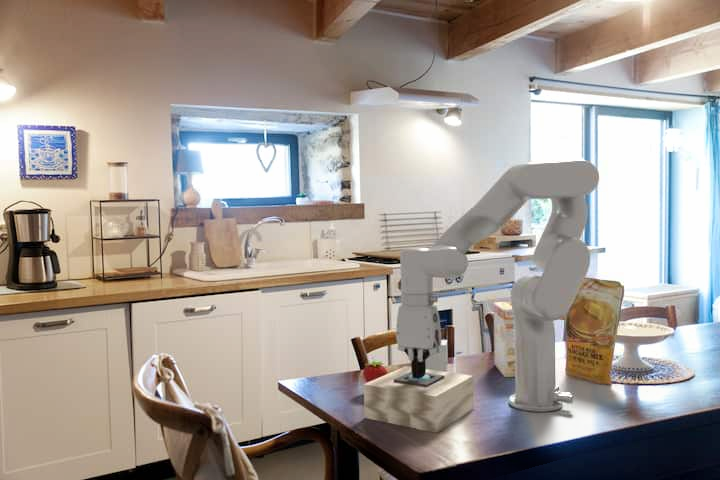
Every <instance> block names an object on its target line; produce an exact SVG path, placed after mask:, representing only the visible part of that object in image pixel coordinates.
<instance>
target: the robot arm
mask: <svg viewBox="0 0 720 480" xmlns="http://www.w3.org/2000/svg"><path fill="white" fill-rule="evenodd" d="M599 181H600V172H599V170H598V168H597V166H595V165H594V164H593V163H592V162H590V161H588V160H585V159H569V160H559V161H558V160H557V161H556V160H555V161H534V162H533V161H532V162H525V163H521V164H520V163H519V164H516V165H513V166H511V167H510V168H508V169H507V170H506V171H505V172H504V173H503V174H502V175H501V176H500V177H499V178H498V179H497V181H496V182H494V184H493V185H492V186H491V187H490V188H489V189H488V190H487V191H486V193H485V194H484V195H483V196H482V197H481V198H480V199H479V200H478V201H477V203H475V205H473V206H472V207H471V208H470V209H469V210H468V211H466V212H465V213H464V214H463V215H462V216H461V217H460V218H459V219H457V220H456V221H455V222H454V223H453V224H452V225H451V226H450V227H448V228H447V229H446V230H445V231H444V233H442V235H441V236H440V237H439V238H438V239H437V240H436V241H435V242H434V244H433V245H432V246H431V247H430V248H427V247H407V248H403V249H402V250H401V251H400V256H399V257H400V259H399V261H400V264H399V265H400V305H399V306H398V309H397V317H396V329H395V330H396V336H395V337H396V343H397V350H398V351H401V352H404V353H405V354H406V356H407V357H408V360H409V361H410V364H411V366H410V367H411V371H412V377H413V378H418V379H419V378H421V377H423V376H425V373H426V360H427V358H428V357H429V356H430V355H436V354H438V353H439V348H438V346H440V345H441V340H442V332H441V330H442V329H441V321H440V320H441V319H440V314H439V310H438V308H437V305H434V304H435V303H437V302H438V300H439V298H438V296H435V295H434V285H433V279H434V278H435V279H436V278H439V279H448V280H449V279H450V280H453V279H457V278H459V277H462V276H463V275H464V274H465V273H466V271H467V270H468V266H469V261H468V256H467V254H466V253H467V252H468V251H469V250H470V249H471V248H473V246H475V244H477V243H479V242H480V241H483V240H484V239H486V238H489V237H491V236H493V235H495V234H497V233H498V232H500V231H501V230H502V229H504V227H505V226H506V225H507V224H508V223H509V222H510V221H511V219H512V218H513V217H514V216H515V215H516V214H517V213H518V212H519V210H520V209H521V208H522V207H523V206H525V204H526V203H527V202H528V201H529V200H541V199H542V200H543V199H544V200H547V199H550V200H551V201H550V202H551V213H550V216H549V218H548V221H547V223H546V225H545V228H544V230H543V232H542V234H541V235H540V239H539V241H538V242H537V244H536V247H535V248H534V251H533V255H532V256H533V257H532V259H533V262H534V265H535V267H536V268H537V269H538V270H540V271H541V272H542V273H541V276H540V275H535V274H534V275H533V274H528V275H524V276H522V277H520V278H518V279H517V280H516V281H515V283H514V284H513V286H512V288H511V291H510V302H511V305H512V311H513V318H514V334H515V377H514V383H515V384H514V386H515V387H514V389H515V392H514V394H511V395H510V396H509V398H508V403H509V405H510V406H511V407H514V408H516V409H518V410H522V411H527V412H535V413H537V412H539V413H541V412H543V413H544V412H552V411H556V410H559V409H561V408H562V407H563V403H564V404H570V405H572V404H573V402H574V396H573V395H572V393H570V392H562V391H561V390H560V385H558V384H557V385H556V331H555V322H554V321H557V320H560V319H562V318H563V317H565V314H566V313H567V312H568V311H569V309H570V307H571V306H572V304H573V302H574V300H575V298H576V295H577V293H578V291H579V289H580V287H581V285H582V283H583V280H584V278H585V277H587V275H588V274H587V273H588V271H589V269H590V265H591V252H590V249H589V247H588V245H587V244H586V243H585V242H584V241H583V240H582V239H581V237H582V235H583V232H584V230H585V227H586V225H587V222H588V217H589V212H588V211H589V210H588V205H587V200H586V196H588V195H590V194H591V193H593V191H595V189H597V188H598V187H597V186H598V184H599V183H600V182H599ZM430 349H431V350H430Z"/></svg>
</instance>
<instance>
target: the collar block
mask: <svg viewBox="0 0 720 480" xmlns="http://www.w3.org/2000/svg"><path fill="white" fill-rule="evenodd" d="M410 375H412V371H411V366H407V365H405V366H403V367H400V368H398V369H395V370H394V371H391V372H389V373H387V374H386V375H384V376H382V377H380V378H377V379H375V380H373V381H370V382H368V383H367V382H365V383H364V384H363V405H364V406H363V407H364V409H363V410H364V412H363V413H364V419H367V420H374V421H378V422H382V423H387V424H393V425H397V426H402V427H407V428H412V429H415V428H416V430H422V431H426V432H431V433H439V432H440V431H442V430H443V429H445V428H447V427H448V426H450V425H451V424H452V423H454V422H456V421H457V420H458V419H460V418H462V417H464V416H465V415H466V414H468V413H470V412H471V411H472V410H474V409H475V403H474V402H475V401H474V400H475V398H474V397H475V394H474V393H475V391H474V376H473V375H470V374H463V373H455V372H449V371H448V372H442V371H435V370H428V369H426V373H425V375H429V376H430V379H429V380H427V381H425V382H420V381H413V380H409V376H410Z"/></svg>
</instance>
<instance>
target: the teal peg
mask: <svg viewBox="0 0 720 480" xmlns="http://www.w3.org/2000/svg"><path fill="white" fill-rule="evenodd" d="M429 379H430V376H429V375H425V376H423V377H421V378H419V379H418V378H413V377H412V375H410V376H409V380H413V381H420V382H425V381H427V380H429Z"/></svg>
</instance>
